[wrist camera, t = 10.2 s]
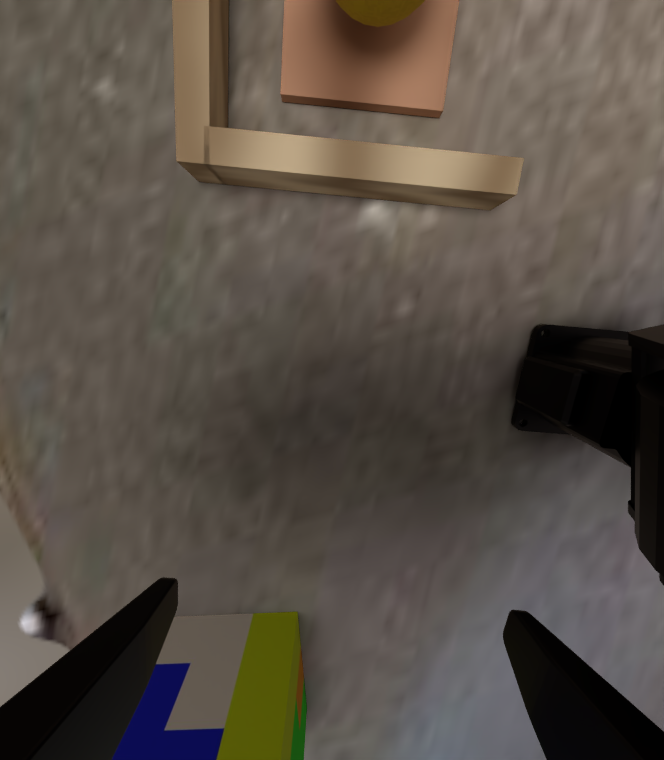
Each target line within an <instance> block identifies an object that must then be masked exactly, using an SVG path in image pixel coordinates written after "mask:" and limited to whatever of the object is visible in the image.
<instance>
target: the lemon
mask: <svg viewBox="0 0 664 760" xmlns="http://www.w3.org/2000/svg"><path fill="white" fill-rule="evenodd" d="M424 1H425V0H336V2H337V3H338V5H339V6H340V7H341V8H342V9H343V10H344V11H345V12H346V13H347V14H348V15H349V16H350V17H351V18H353V19H355V20H356V21H358V22H360V23H362V24H364V25H370V26H376V27H380V26H387V25H392V24H394V23H396V22H398V21H400V20H402V19H404V18H406V17H408V16H409V15H410V14H411V13H412V12H413V11H415V10H416V9H417V8H418V7H419V6H420V5H421V4H422V3H423V2H424Z"/></svg>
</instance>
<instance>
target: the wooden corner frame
mask: <svg viewBox="0 0 664 760" xmlns="http://www.w3.org/2000/svg"><path fill="white" fill-rule="evenodd" d="M458 5H459V0H425V1H424V2H423V3H422V4H421V5H420V6H419V7H418V8H417V9H416V10H415V11H413V12H412V13H411V14H410V15H409V16H408V17H406V18H404V19H402V20H400V21H398V22H396V23H394V24H392V25H387V26H380V27H376V26H370V25H364V24H362V23H360V22H358V21H356V20H355V19H353V18H351V17H350V16H349V15H348V14H347V13H346V12H345V11H344V10H343V9H342V8H341V7H340V6H339V5H338V3H337V2H336V0H285V1H284V25H283V49H282V73H281V98H282V102H290V103H299V104H309V105H319V106H328V107H338V108H348V109H357V110H367V111H377V112H386V113H396V114H405V115H415V116H425V117H434V118H439V117H440V115H441V113H442V112H443V107H444V100H445V93H446V87H447V80H448V73H449V66H450V59H451V53H452V46H453V39H454V32H455V25H456V18H457V12H458ZM172 8H173V46H174V85H175V123H176V161H177V162H178V163H179V164H180V165H181V166H182V167H183V168H185V169H186V170H187V171H188V172H189V173H190V174H191V175H192V176H193V177H194V178H196V179H197V180H198V181H199V182H206V183H217V184H227V185H237V186H247V187H257V188H268V189H278V190H288V191H298V192H308V193H319V194H329V195H339V196H349V197H359V198H370V199H380V200H390V201H400V202H411V203H421V204H431V205H441V206H451V207H462V208H472V209H482V210H492V209H493V208H495V207H497V206H498V205H500V204H502V203H503V202H505V201H507V200H508V199H510V198H512V197H514V196H515V195H517V190H518V185H519V180H520V175H521V170H522V165H523V161H524V158H516V157H507V156H497V155H487V154H477V153H467V152H457V151H448V150H438V149H428V148H418V147H408V146H398V145H389V144H379V143H369V142H359V141H349V140H339V139H329V138H320V137H310V136H300V135H290V134H280V133H270V132H261V131H251V130H241V129H231V128H228V37H229V0H172Z"/></svg>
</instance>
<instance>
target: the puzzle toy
mask: <svg viewBox="0 0 664 760" xmlns="http://www.w3.org/2000/svg"><path fill="white" fill-rule="evenodd" d="M306 712H307V705H306V694H305V684H304V674H303V663H302V653H301V643H300V632H299V622H298V612H278V613H253V614H228V615H203V616H178V617H174V619H173V621H172V624H171V626H170V629H169V632H168V634H167V637H166V639H165V642H164V644H163V647H162V650H161V652H160V655H159V657H158V660H157V662H156V665H155V668H154V670H153V673H152V675H151V678H150V680H149V683H148V685H147V687H146V689H145V692H144V694H143V696H142V698H141V700H140V702H139V704H138V706H137V708H136V711H135V713H134V715H133V717H132V719H131V721H130V723H129V725H128V727H127V729H126V731H125V733H124V735H123V737H122V739H121V741H120V743H119V745H118V747H117V750H116V752H115V754H114V756H113V758H112V760H304V744H305V728H306Z"/></svg>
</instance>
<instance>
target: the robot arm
mask: <svg viewBox="0 0 664 760" xmlns="http://www.w3.org/2000/svg"><path fill="white" fill-rule="evenodd" d="M543 330H545V335H544V336H543V337H542V336H541V333H542V331H543ZM516 399H517V400H516V405H515V409H514V413H513V417H512V425H513V426H514V427H515V428H517V429H518V430H521V431H533V432H545V433H557V434H569V435H572V436H574V437H576V438H578V439H580V440H582V441H583V442H585V443H587V444H589V445H591V446H592V447H594V448H596V449H598V450H600V451H602V452H603V453H605V454H607V455H609V456H611V457H612V458H614V459H616V460H618V461H620V462H622V463H623V464H625V465H627V466H629V467H631V500H630V501H628V513H629V514H630V516H631V517H632V518H633V520H634V521H635V534H636V538H637V542H638V546H639V549H640V550H641V552H642V553H643V554H644V556H645V557H646V558H647V560H648V561H649V562H650V563H651V565H652V566H653V567H654V569H655V570H656V571H657V572H658V573H659V578H660V581H661V583H662V584H663V585H664V325H659V326H654V327H650V328H645V329H640V330H636V331H631V332H623V331H612V330H601V329H590V328H579V327H568V326H557V325H546V324H541V325H538V326H536V328H535V329H534V330H533V333H532V337H531V342H530V346H529V350H528V354H527V358H526V359H525V361H524V365H523V369H522V373H521V377H520V382H519V386H518V390H517V394H516ZM522 419H524V421H523V423H522V424H519V422H520V421H521V420H522ZM177 606H178V581H177V579H175V578H165V577H163V578H160V579H158V580H157V581H156V582H155V583H153V584H152V585H151V586H150V587H148V588H147V589H146V590H145V591H143V592H142V593H141V594H140V595H139V596H137V597H136V598H135V599H134V600H132V601H131V602H130V603H129V604H127V605H126V606H125V607H124V608H122V609H121V610H120V611H119V612H117V613H116V614H115V615H114V616H112V617H111V618H110V619H109V620H108V621H106V622H105V623H104V624H103V625H101V626H100V627H99V628H98V629H96V630H95V631H94V632H93V633H91V634H90V635H89V636H88V637H86V638H85V639H84V640H83V641H81V642H80V643H79V644H78V645H76V646H75V647H74V648H73V649H72V650H70V651H69V652H68V653H67V654H65V655H64V656H63V657H62V658H60V659H59V660H58V661H57V662H55V663H54V664H53V665H52V666H50V667H49V668H48V669H47V670H46V671H44V672H43V673H42V674H41V675H39V676H38V677H37V678H36V679H35V680H33V681H32V682H31V683H29V684H28V685H27V686H26V687H24V688H23V689H22V690H21V691H19V692H18V693H17V694H16V695H14V696H13V697H12V698H11V699H10V700H8V701H7V702H6V703H5V704H3V705H2V706H1V707H0V760H112V758H113V756H114V754H115V752H116V750H117V747H118V745H119V743H120V741H121V739H122V737H123V735H124V733H125V731H126V729H127V727H128V725H129V723H130V721H131V719H132V717H133V715H134V713H135V711H136V708H137V706H138V704H139V702H140V700H141V698H142V696H143V694H144V692H145V689H146V687H147V685H148V683H149V680H150V678H151V675H152V673H153V670H154V668H155V665H156V662H157V660H158V657H159V655H160V652H161V650H162V647H163V644H164V642H165V639H166V637H167V634H168V632H169V629H170V626H171V624H172V621H173V619H174V616H175V613H176V610H177ZM503 640H504V644H505V647H506V650H507V653H508V656H509V659H510V662H511V665H512V668H513V671H514V674H515V677H516V680H517V683H518V686H519V689H520V692H521V695H522V698H523V701H524V704H525V707H526V709H527V712H528V715H529V718H530V720H531V723H532V725H533V728H534V730H535V733H536V735H537V737H538V740H539V742H540V745H541V747H542V749H543V752H544V754H545V757H546V759H547V760H664V732H663V731H662V730H661V729H660V728H659V727H658V726H657V725H656V724H654V723H653V722H652V721H651V720H650V719H649V718H648V717H646V716H645V715H644V714H643V713H642V712H641V711H640V710H639V709H637V708H636V707H635V706H634V705H633V704H632V703H631V702H629V701H628V700H627V699H626V698H625V697H624V696H623V695H622V694H620V693H619V692H618V691H617V690H616V689H615V688H614V687H612V686H611V685H610V684H609V683H608V682H607V681H606V680H605V679H603V678H602V677H601V676H600V675H599V674H598V673H597V672H595V671H594V670H593V669H592V668H591V667H590V666H589V665H588V664H586V663H585V662H584V661H583V660H582V659H581V658H580V657H579V656H577V655H576V654H575V653H574V652H573V651H572V650H571V649H569V648H568V647H567V646H566V645H565V644H564V643H563V642H562V641H560V640H559V639H558V638H557V637H556V636H555V635H554V634H552V633H551V632H550V631H549V630H548V629H547V628H546V627H545V626H543V625H542V624H541V623H540V622H539V621H538V620H537V619H535V618H534V617H533V616H532V615H531V614H530V613H528V612H526V611H521V610H511V611H510V612H509V615H508V618H507V621H506V625H505V628H504V631H503Z"/></svg>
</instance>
